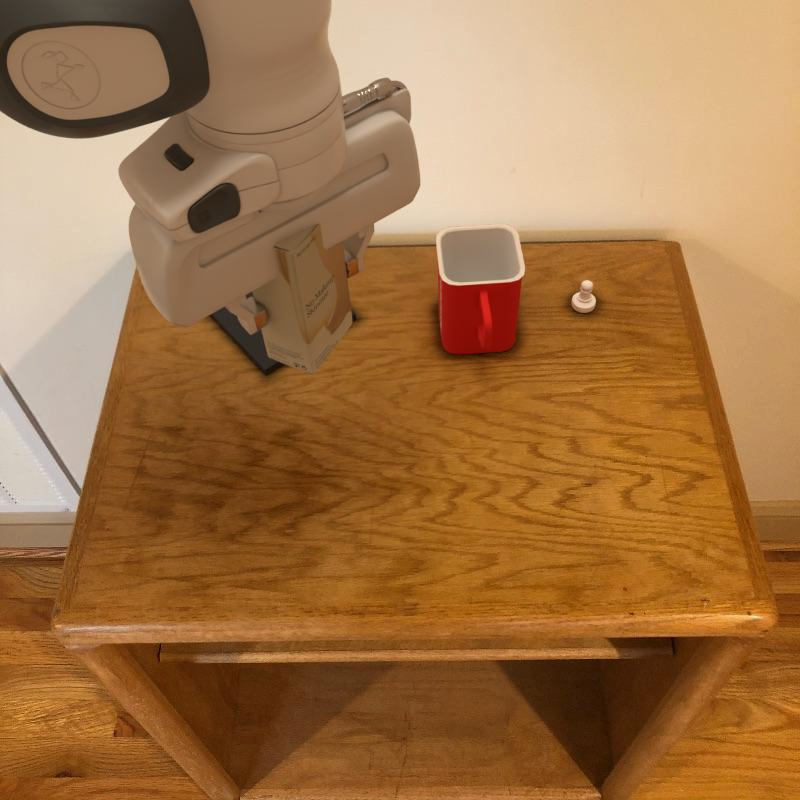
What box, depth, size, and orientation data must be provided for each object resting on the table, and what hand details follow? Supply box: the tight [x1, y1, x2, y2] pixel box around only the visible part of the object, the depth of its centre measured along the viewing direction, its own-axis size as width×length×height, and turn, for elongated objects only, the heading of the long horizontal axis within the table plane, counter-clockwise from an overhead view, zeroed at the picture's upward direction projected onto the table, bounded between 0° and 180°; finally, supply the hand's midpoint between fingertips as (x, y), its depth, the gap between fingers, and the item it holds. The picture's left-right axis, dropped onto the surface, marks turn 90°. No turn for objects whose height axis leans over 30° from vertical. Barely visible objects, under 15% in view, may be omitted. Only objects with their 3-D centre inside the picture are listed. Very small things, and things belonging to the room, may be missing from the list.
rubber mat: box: [209, 292, 357, 376], centre depth 87 cm, size 12×12×1 cm
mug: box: [435, 223, 526, 355], centre depth 80 cm, size 12×8×11 cm
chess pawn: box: [571, 279, 597, 314], centre depth 85 cm, size 3×3×4 cm
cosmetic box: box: [252, 223, 353, 375], centre depth 56 cm, size 6×4×12 cm
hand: (302, 297), depth 57 cm, fingers closed on cosmetic box, 7 cm apart
